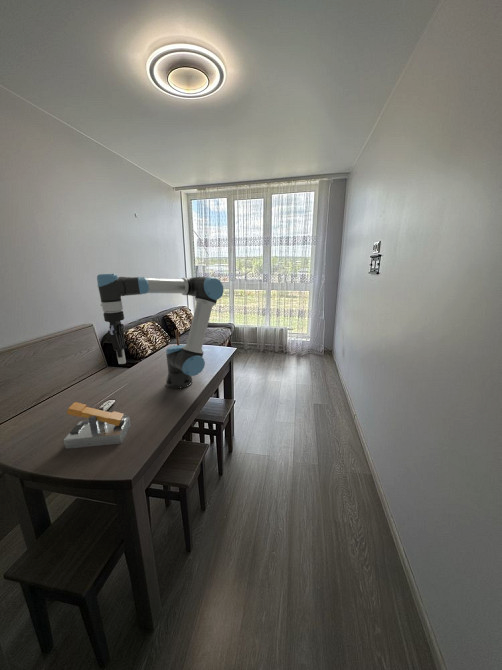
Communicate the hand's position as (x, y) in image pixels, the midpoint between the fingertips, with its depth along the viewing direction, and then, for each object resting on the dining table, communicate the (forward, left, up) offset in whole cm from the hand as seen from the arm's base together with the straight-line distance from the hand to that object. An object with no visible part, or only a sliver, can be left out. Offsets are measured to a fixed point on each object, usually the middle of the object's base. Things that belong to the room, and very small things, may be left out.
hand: (122, 363), depth 113 cm
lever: (+7, +16, -15) cm, 23 cm away
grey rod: (+7, +5, -25) cm, 27 cm away
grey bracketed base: (+7, +16, -25) cm, 31 cm away
